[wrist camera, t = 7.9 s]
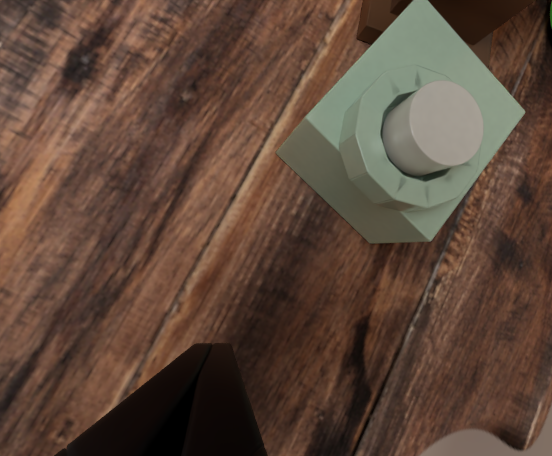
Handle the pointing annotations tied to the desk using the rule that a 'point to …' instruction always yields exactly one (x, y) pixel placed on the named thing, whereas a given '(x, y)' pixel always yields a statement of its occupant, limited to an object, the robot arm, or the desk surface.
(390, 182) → the green button box
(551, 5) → the green plate with lemons
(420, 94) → the grey push button
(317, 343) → the desk surface
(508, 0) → the pedestal
